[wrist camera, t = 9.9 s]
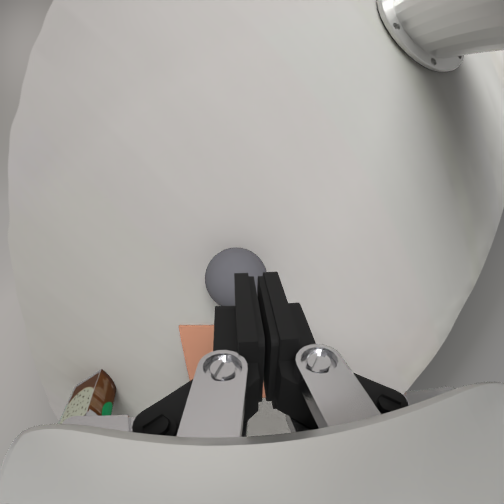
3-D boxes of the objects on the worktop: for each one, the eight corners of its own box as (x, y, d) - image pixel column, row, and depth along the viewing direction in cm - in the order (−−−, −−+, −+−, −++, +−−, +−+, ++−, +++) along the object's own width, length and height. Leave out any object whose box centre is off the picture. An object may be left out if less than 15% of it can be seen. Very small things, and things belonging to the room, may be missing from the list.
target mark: (178, 325, 29) (178, 326, 29) (302, 321, 30) (303, 322, 30) (194, 398, 35) (194, 399, 35) (290, 394, 36) (291, 395, 36)
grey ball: (200, 316, 22) (208, 297, 27) (267, 320, 22) (262, 300, 28) (202, 249, 21) (210, 243, 27) (272, 253, 21) (266, 246, 27)
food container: (99, 408, 36) (86, 453, 27) (72, 388, 34) (53, 433, 25) (139, 389, 34) (126, 445, 25) (106, 365, 32) (85, 421, 22)
